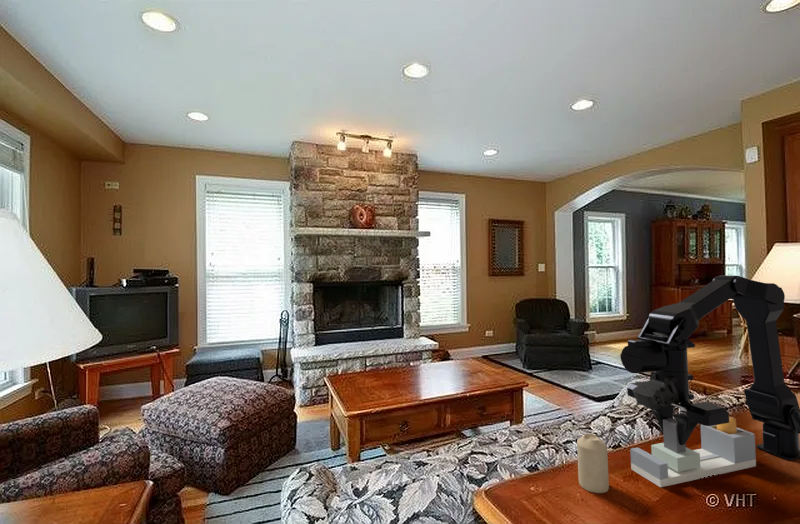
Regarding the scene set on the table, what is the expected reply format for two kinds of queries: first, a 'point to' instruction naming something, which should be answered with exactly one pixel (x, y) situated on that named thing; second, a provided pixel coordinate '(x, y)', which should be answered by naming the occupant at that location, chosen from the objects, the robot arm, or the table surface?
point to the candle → (592, 464)
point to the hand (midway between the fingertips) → (674, 441)
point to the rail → (701, 458)
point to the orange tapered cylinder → (728, 426)
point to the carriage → (675, 449)
